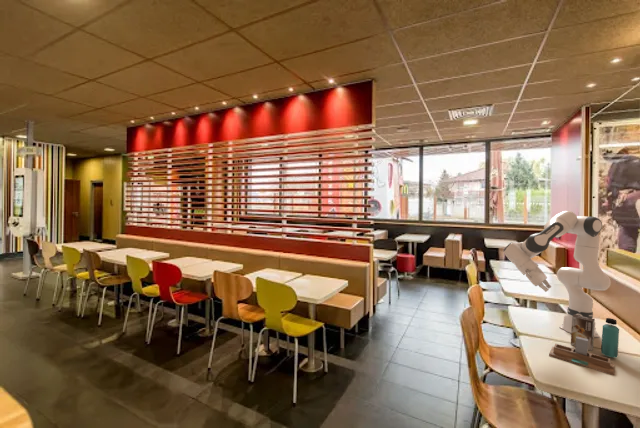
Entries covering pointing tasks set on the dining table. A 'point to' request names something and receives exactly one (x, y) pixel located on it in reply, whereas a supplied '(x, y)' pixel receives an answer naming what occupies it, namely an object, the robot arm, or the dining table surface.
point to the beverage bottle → (610, 338)
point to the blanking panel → (581, 346)
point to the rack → (582, 359)
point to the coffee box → (582, 329)
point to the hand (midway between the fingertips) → (548, 289)
